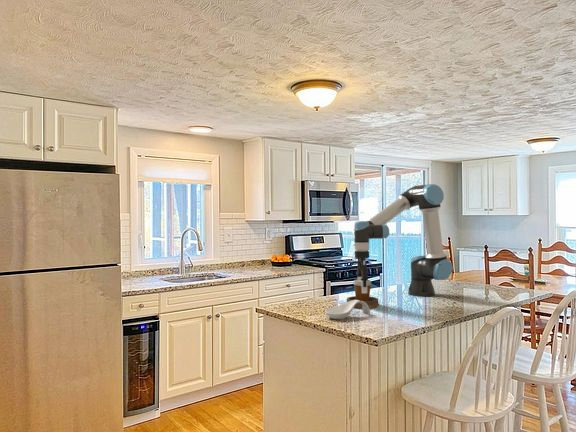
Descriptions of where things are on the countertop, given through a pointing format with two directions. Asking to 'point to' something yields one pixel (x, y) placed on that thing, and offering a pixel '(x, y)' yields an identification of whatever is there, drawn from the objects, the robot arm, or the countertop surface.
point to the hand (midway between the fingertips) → (362, 291)
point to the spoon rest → (345, 309)
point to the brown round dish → (371, 303)
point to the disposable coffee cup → (358, 290)
